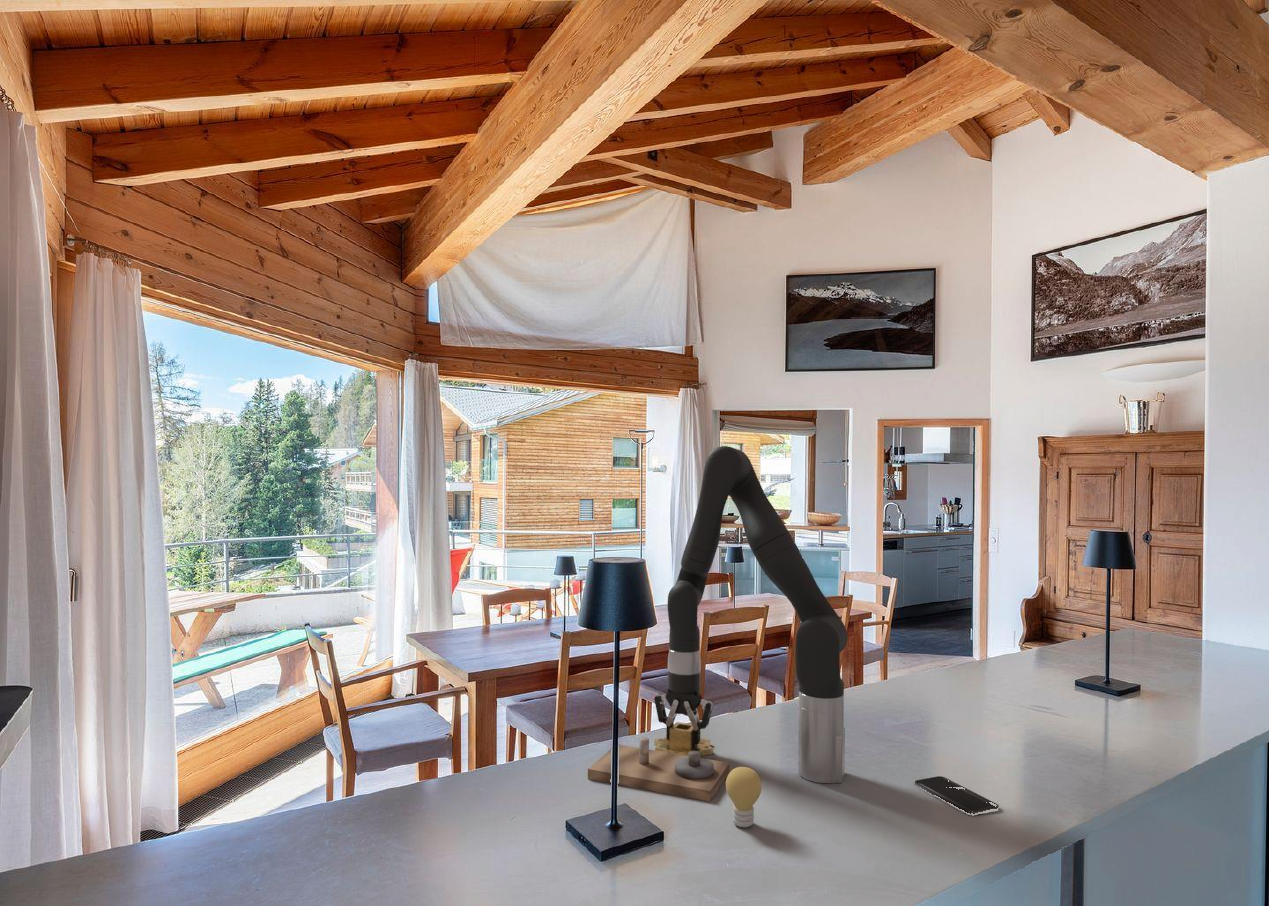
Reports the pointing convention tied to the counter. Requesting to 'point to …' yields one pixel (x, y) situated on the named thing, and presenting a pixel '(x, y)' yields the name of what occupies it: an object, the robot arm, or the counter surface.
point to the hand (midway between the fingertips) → (683, 743)
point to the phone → (955, 794)
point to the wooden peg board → (663, 771)
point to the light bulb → (743, 794)
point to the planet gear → (682, 741)
